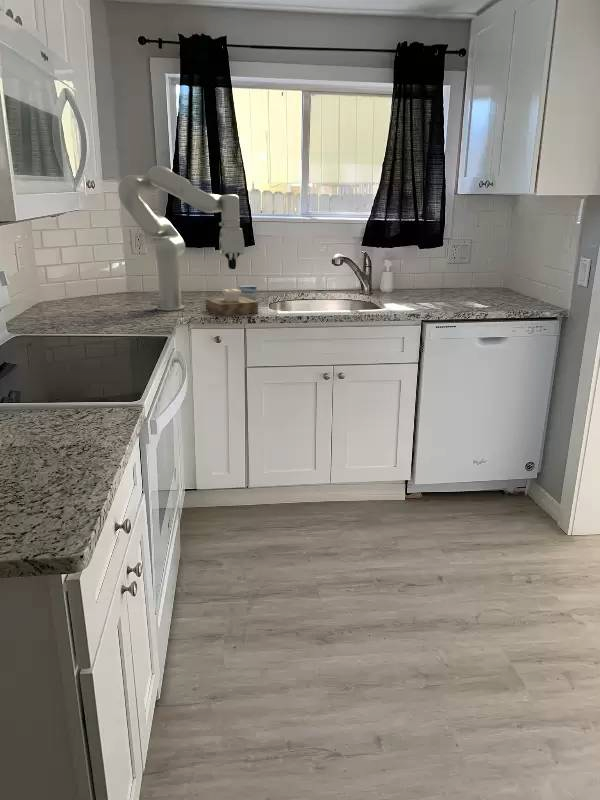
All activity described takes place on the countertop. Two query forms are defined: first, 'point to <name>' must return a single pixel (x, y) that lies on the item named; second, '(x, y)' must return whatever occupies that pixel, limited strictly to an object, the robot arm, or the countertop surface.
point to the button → (231, 294)
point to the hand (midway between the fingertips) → (232, 268)
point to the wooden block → (231, 306)
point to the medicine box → (248, 292)
